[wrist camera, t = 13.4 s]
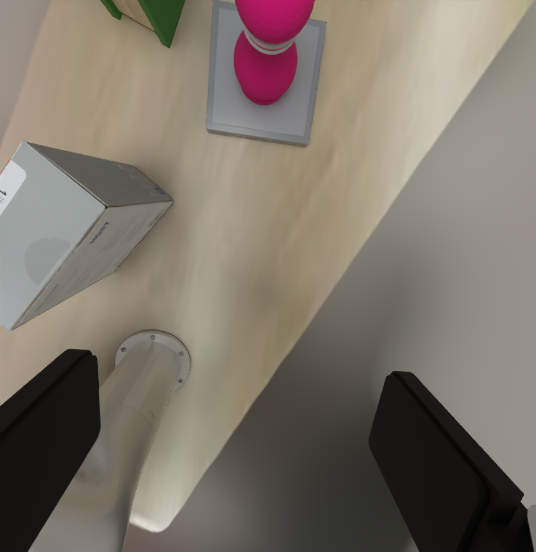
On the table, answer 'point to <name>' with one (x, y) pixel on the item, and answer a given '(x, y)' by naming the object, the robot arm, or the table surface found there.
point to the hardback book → (150, 14)
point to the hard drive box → (66, 225)
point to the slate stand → (243, 112)
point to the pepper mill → (268, 46)
